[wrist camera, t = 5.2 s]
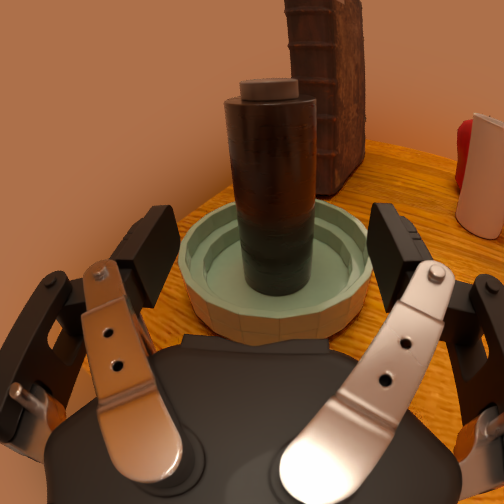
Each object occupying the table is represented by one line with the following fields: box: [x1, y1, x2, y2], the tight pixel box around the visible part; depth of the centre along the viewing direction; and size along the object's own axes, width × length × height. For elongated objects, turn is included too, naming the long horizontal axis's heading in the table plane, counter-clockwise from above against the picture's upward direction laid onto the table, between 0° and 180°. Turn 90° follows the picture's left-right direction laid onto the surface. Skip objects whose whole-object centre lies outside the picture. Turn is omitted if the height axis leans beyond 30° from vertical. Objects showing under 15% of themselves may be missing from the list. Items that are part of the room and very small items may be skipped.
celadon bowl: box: [178, 199, 373, 346], centre depth 20 cm, size 13×13×4 cm
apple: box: [455, 116, 490, 191], centre depth 27 cm, size 9×8×12 cm
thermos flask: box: [224, 78, 317, 296], centre depth 17 cm, size 5×5×13 cm
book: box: [284, 0, 366, 196], centre depth 29 cm, size 17×7×25 cm, turn 144°
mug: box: [456, 113, 504, 239], centre depth 20 cm, size 10×7×12 cm, turn 22°
